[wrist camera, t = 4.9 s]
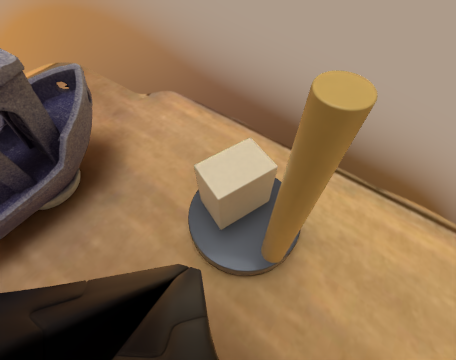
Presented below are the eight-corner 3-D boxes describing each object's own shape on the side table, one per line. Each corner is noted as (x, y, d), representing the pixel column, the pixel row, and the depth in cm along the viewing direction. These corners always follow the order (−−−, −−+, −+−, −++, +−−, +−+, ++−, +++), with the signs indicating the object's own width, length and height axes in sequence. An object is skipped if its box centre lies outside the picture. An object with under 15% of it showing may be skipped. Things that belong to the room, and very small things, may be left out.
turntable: (227, 301, 16) (218, 188, 5) (172, 206, 20) (92, 15, 9) (320, 235, 19) (469, 52, 7) (255, 161, 23) (280, -33, 11)
